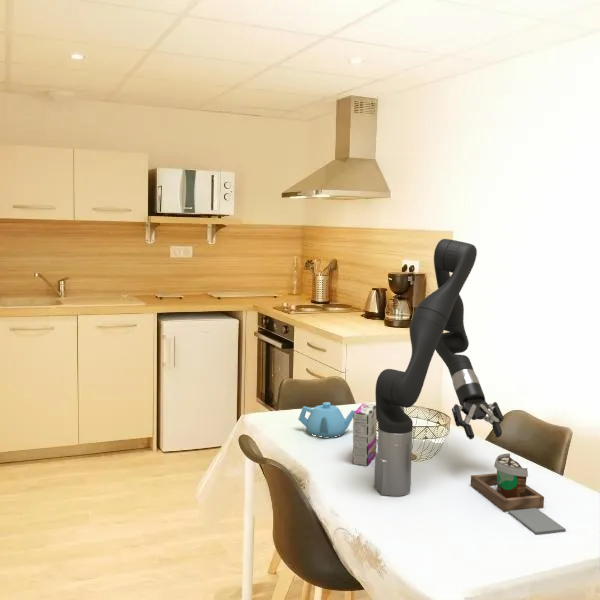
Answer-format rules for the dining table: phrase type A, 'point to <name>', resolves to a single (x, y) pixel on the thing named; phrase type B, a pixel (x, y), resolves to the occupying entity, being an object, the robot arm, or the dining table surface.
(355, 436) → the candy bar box
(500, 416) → the robot arm
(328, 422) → the teapot
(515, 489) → the food container
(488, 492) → the walnut frame
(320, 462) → the dining table surface
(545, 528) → the rubber mat
